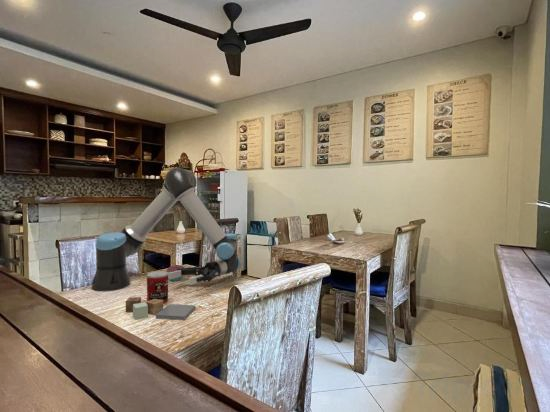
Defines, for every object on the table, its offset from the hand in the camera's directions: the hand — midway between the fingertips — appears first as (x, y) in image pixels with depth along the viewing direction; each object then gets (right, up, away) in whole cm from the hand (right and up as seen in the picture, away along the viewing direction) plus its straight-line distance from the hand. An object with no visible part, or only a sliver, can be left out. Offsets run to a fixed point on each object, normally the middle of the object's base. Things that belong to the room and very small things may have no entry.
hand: (178, 279), depth 123 cm
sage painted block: (-6, -7, -22) cm, 24 cm away
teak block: (-2, -7, -18) cm, 20 cm away
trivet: (+5, -7, -19) cm, 21 cm away
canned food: (-5, -7, -8) cm, 12 cm away
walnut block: (-11, -7, -16) cm, 21 cm away
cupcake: (-9, -6, +23) cm, 25 cm away
